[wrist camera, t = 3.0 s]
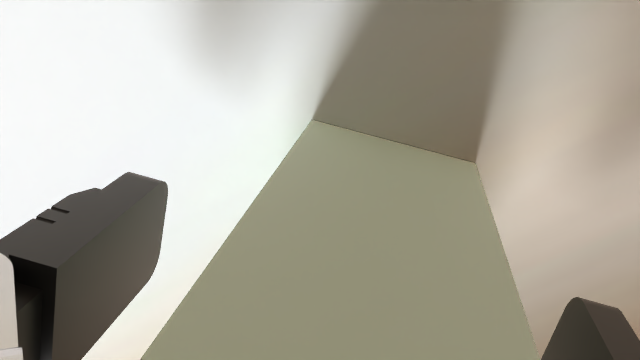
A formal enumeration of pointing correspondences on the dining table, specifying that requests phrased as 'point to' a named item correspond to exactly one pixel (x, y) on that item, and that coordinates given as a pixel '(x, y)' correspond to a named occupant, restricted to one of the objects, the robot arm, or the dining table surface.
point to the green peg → (356, 264)
